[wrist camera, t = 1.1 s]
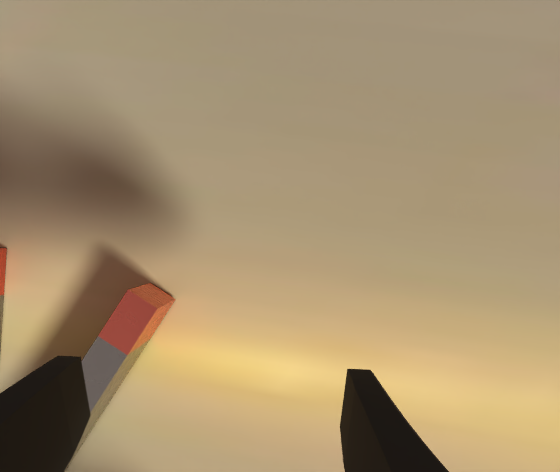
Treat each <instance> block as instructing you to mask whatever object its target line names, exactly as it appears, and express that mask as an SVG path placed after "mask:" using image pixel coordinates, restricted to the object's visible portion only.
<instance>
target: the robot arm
mask: <svg viewBox="0 0 560 472" xmlns="http://www.w3.org/2000/svg"><path fill="white" fill-rule="evenodd" d="M90 416H91V414H90V408H89V402H88V397H87V391H86V385H85V379H84V373H83V367H82V362H81V357H71V356H57V357H56V358H54V359H52V360H51V361H49V362H47V363H46V364H44V365H43V366H41V367H40V368H38V369H36V370H35V371H33V372H32V373H30V374H29V375H27V376H26V377H24V378H23V379H21V380H20V381H18V382H17V383H15V384H14V385H12V386H11V387H9V388H8V389H6V390H5V391H3V392H2V393H0V472H64V471H65V469H66V467H67V466H68V464H69V462H70V460H71V459H72V457H73V455H74V453H75V451H76V449H77V446H78V444H79V442H80V440H81V437H82V435H83V433H84V430H85V428H86V426H87V423H88V421H89V418H90ZM340 432H341V442H342V452H343V462H344V469H345V472H449V471H448V470H447V469H446V468H445V467H444V466H443V464H442V463H441V462H440V461H439V460H438V459H437V457H436V456H435V455H434V454H433V453H432V452H431V450H430V449H429V448H428V447H427V446H426V444H425V443H424V442H423V441H422V439H421V438H420V437H419V436H418V434H417V433H416V432H415V430H414V429H413V428H412V427H411V425H410V424H409V423H408V422H407V420H406V419H405V418H404V416H403V415H402V414H401V412H400V411H399V410H398V408H397V407H396V405H395V404H394V403H393V401H392V400H391V398H390V397H389V396H388V394H387V393H386V391H385V390H384V388H383V387H382V385H381V384H380V383H379V381H378V380H377V378H376V377H375V375H374V374H373V373H372V371H371V370H362V369H347V377H346V384H345V392H344V400H343V407H342V415H341V423H340Z"/></svg>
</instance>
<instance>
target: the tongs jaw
mask: <svg viewBox="0 0 560 472" xmlns="http://www.w3.org/2000/svg"><path fill="white" fill-rule="evenodd" d="M174 301H175V299H174V298H173V297H171V296H170V295H168V294H167V293H165V292H163V291H162V290H160V289H159V288H157V287H156V286H154V285H153V284H151V283H149V284H145V285H142V286H138V287H135V288H132V289H128V290H127V292H126V293H125V295H124V297H123V298H122V300H121V301H120V303H119V304H118V306H117V307H116V309H115V310H114V312H113V314H112V315H111V317H110V318H109V320H108V321H107V323H106V324H105V326H104V327H103V329H102V331H101V332H100V334H99V335H98V337H97V338H96V340H95V341H94V343H93V344H92V346H91V348H90V349H89V351H88V352H87V354H86V355H85V357H84V358H83V360H82V367H83V373H84V379H85V385H86V391H87V397H88V402H89V408H90V414H91V416H90V418H89V421H88V423H87V426H86V428H85V430H84V433H83V435H82V437H81V440H80V442H79V444H78V446H77V449H76V451H75V453H74V455H73V457H72V459H73V458H74V456H75V455H76V453H77V452H78V450H79V448H80V447H81V445H82V444H83V442H84V441H85V439H86V438H87V436H88V434H89V433H90V431H91V430H92V428H93V427H94V425H95V424H96V422H97V420H98V419H99V417H100V416H101V414H102V413H103V411H104V410H105V408H106V407H107V405H108V403H109V402H110V400H111V399H112V397H113V396H114V394H115V393H116V391H117V389H118V388H119V386H120V385H121V383H122V382H123V380H124V379H125V377H126V375H127V374H128V372H129V371H130V369H131V368H132V366H133V365H134V363H135V361H136V360H137V358H138V357H139V355H140V354H141V352H142V351H143V349H144V348H145V346H146V344H147V343H148V341H149V340H150V338H151V337H152V335H153V334H154V332H155V330H156V329H157V327H158V326H159V324H160V323H161V321H162V320H163V318H164V316H165V315H166V313H167V312H168V310H169V309H170V307H171V306H172V304H173V302H174ZM72 459H71V460H70V462H71V461H72ZM70 462H69V464H70ZM69 464H68V466H69ZM68 466H67V467H68ZM67 467H66V469H67ZM66 469H65V470H66ZM64 472H65V471H64Z"/></svg>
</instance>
